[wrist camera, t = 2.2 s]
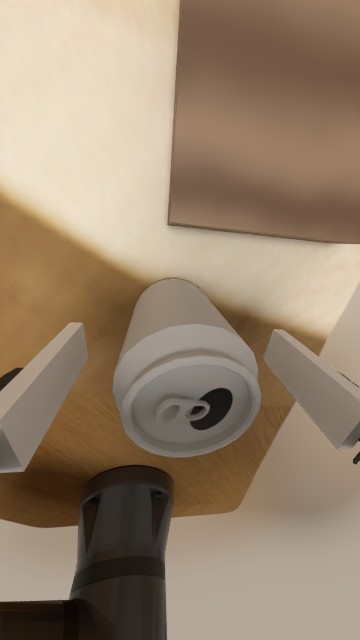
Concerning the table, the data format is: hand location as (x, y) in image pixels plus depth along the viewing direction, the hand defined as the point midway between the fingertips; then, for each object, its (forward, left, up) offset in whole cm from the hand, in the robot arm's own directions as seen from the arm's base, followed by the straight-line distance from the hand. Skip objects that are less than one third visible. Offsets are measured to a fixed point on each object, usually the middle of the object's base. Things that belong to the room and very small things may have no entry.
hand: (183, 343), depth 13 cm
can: (0, 0, -7) cm, 7 cm away
